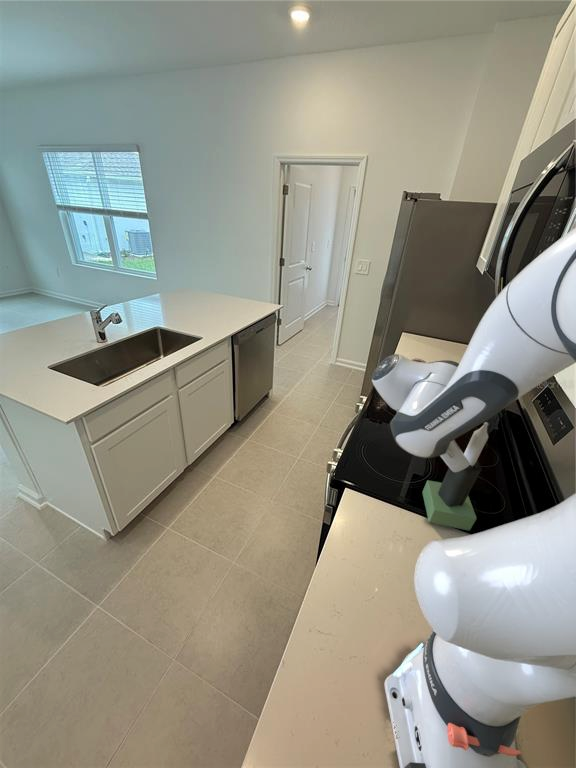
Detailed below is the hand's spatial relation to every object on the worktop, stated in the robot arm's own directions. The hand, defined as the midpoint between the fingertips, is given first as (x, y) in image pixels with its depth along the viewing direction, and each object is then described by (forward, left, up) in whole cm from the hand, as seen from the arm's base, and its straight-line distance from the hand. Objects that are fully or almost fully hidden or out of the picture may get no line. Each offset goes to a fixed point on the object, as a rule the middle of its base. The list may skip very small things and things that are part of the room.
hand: (453, 450), depth 72 cm
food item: (+76, -6, -22) cm, 80 cm away
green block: (+1, -4, -21) cm, 22 cm away
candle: (+1, -4, -17) cm, 17 cm away
